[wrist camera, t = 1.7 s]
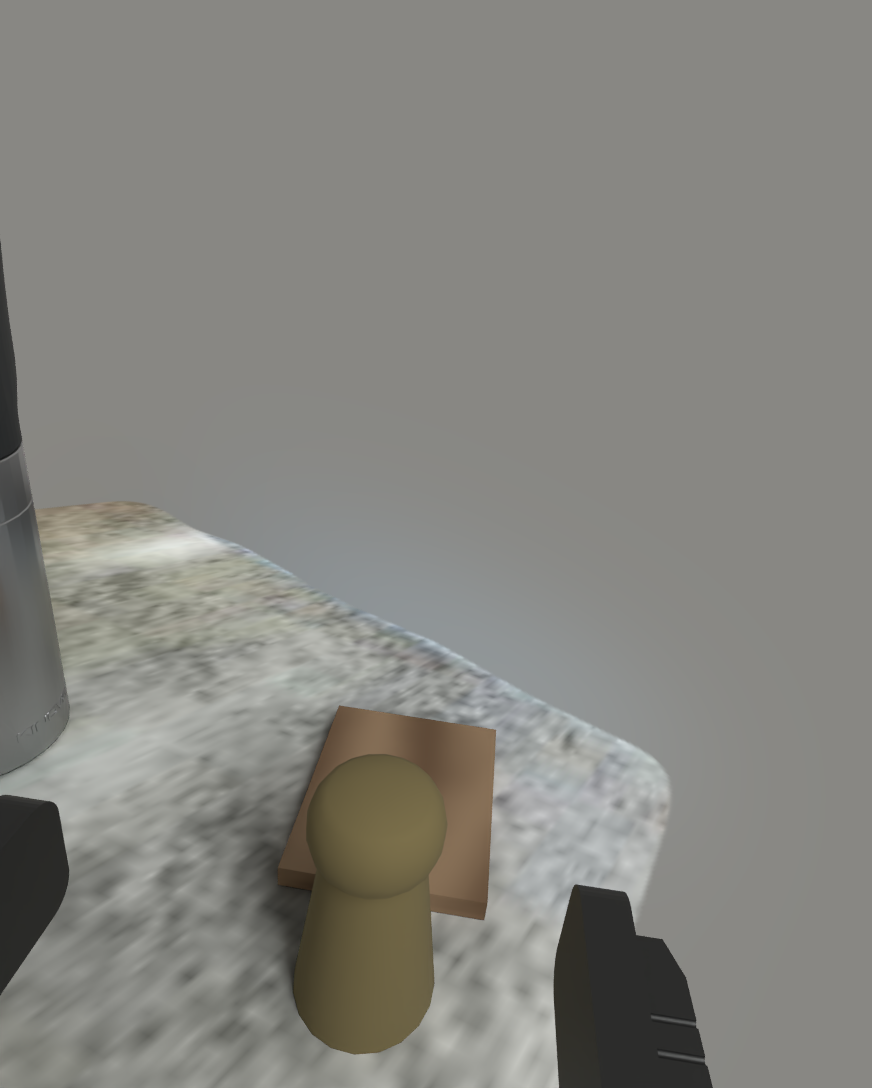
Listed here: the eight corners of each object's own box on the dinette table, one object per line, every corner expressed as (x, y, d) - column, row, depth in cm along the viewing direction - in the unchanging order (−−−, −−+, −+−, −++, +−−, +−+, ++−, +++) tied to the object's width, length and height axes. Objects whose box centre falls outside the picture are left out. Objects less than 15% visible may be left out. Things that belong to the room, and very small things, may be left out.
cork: (431, 1061, 26) (463, 868, 21) (277, 1046, 26) (275, 849, 21) (436, 917, 32) (463, 737, 27) (308, 904, 32) (313, 722, 27)
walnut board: (277, 884, 32) (277, 867, 32) (338, 720, 43) (339, 705, 43) (484, 920, 32) (487, 903, 31) (493, 744, 43) (495, 729, 42)
